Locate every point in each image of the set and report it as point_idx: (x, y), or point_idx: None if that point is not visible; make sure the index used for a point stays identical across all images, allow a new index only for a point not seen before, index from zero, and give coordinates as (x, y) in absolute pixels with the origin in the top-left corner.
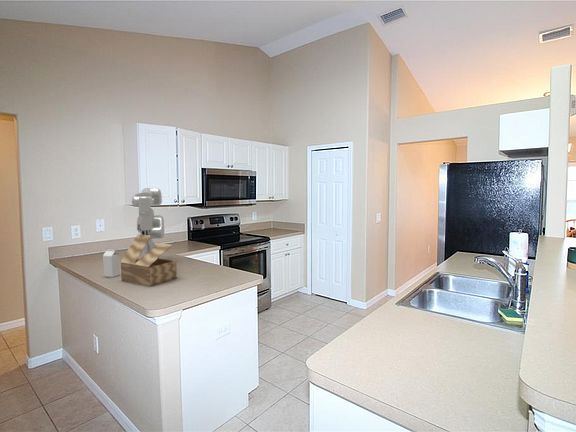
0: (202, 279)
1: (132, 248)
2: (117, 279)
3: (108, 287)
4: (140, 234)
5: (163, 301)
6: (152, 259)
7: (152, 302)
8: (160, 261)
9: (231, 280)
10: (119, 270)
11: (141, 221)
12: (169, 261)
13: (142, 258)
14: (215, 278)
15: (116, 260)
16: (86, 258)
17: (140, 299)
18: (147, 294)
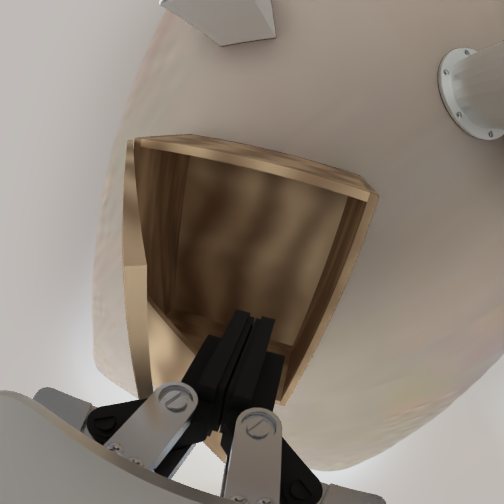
0: (294, 411)
1: (122, 218)
2: (197, 100)
3: (110, 169)
4: (132, 359)
5: (122, 373)
6: (152, 371)
7: (108, 357)
8: (320, 311)
9: (298, 450)
10: (269, 30)
11: None
12: (293, 374)
13: (147, 312)
14: (310, 430)
15: (225, 6)
16: None
17: (102, 330)
18: (126, 331)
